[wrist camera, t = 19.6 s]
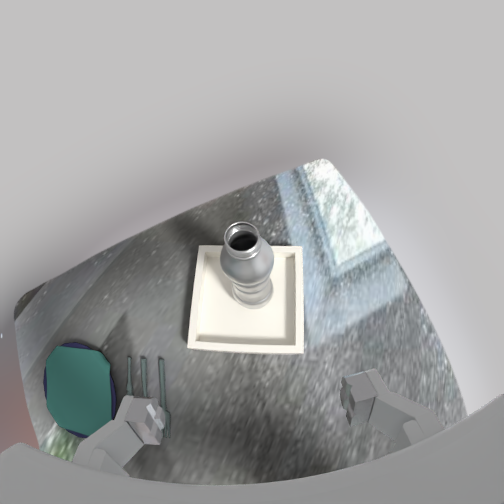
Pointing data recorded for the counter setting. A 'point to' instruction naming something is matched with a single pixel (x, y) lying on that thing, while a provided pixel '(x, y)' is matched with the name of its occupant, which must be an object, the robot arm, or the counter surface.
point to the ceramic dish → (247, 320)
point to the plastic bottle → (248, 265)
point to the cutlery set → (87, 389)
